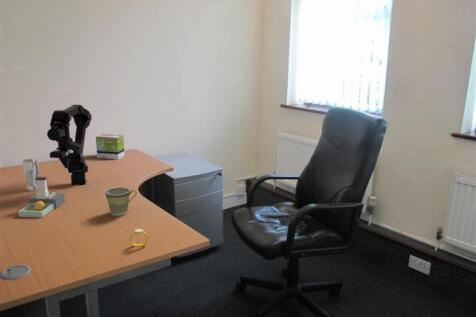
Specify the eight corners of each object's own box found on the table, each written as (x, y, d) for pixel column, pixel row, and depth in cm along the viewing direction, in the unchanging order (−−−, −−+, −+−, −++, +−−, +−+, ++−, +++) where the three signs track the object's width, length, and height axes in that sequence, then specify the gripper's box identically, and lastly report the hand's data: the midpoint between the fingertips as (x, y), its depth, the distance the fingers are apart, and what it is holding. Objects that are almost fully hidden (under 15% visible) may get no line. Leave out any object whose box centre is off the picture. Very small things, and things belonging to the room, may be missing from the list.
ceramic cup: (109, 219, 174) (107, 196, 172) (104, 211, 183) (103, 189, 181) (140, 213, 180) (139, 191, 178) (134, 206, 189) (133, 185, 186)
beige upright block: (39, 196, 187) (37, 176, 184) (49, 197, 186) (46, 176, 184) (36, 198, 184) (34, 178, 182) (46, 199, 184) (44, 178, 182)
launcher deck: (39, 201, 194) (38, 190, 193) (64, 202, 193) (63, 190, 192) (30, 208, 186) (28, 195, 185) (56, 208, 185) (55, 196, 184)
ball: (40, 200, 180) (39, 210, 180) (47, 200, 184) (46, 210, 184) (32, 200, 182) (32, 210, 181) (39, 200, 185) (39, 209, 185)
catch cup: (32, 208, 186) (31, 202, 186) (54, 208, 186) (53, 203, 185) (18, 216, 176) (18, 211, 176) (42, 217, 176) (41, 211, 175)
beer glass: (35, 191, 208) (31, 162, 204) (22, 190, 209) (19, 161, 206) (44, 187, 215) (41, 158, 211) (32, 186, 216) (28, 158, 212)
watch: (146, 243, 153) (147, 228, 152) (147, 246, 150) (148, 231, 149) (129, 244, 151) (130, 229, 150) (130, 248, 149) (130, 232, 147)
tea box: (96, 158, 273) (94, 136, 270) (104, 155, 283) (102, 133, 279) (118, 159, 271) (117, 137, 267) (125, 156, 281) (123, 134, 277)
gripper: (71, 140, 192) (74, 173, 196) (88, 133, 211) (90, 163, 214) (47, 140, 193) (50, 173, 197) (66, 133, 211) (69, 163, 215)
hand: (66, 168), depth 206 cm, fingers closed
